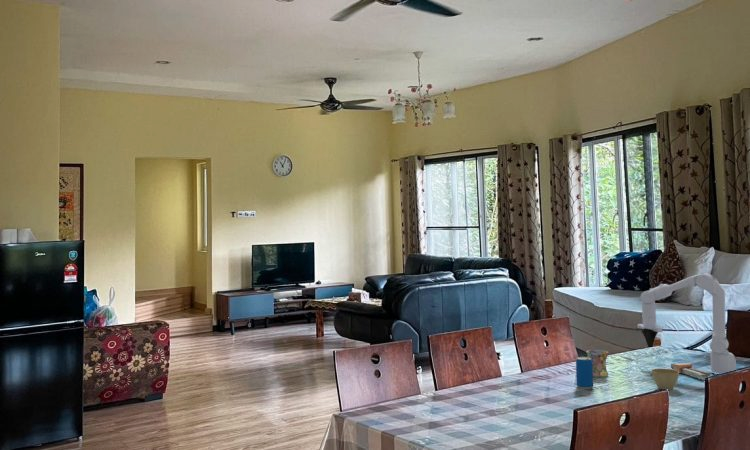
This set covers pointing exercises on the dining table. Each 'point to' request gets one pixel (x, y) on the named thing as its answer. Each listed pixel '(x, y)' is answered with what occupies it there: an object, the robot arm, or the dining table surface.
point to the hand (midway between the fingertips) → (650, 345)
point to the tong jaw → (692, 373)
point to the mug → (598, 362)
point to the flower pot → (665, 378)
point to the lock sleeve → (677, 366)
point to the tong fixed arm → (693, 370)
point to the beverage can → (584, 372)
